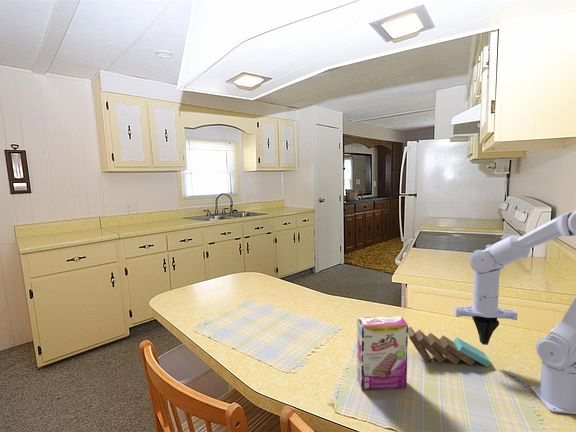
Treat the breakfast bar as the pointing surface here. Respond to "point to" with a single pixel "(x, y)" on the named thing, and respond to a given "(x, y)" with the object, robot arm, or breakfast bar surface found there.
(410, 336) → the walnut domino
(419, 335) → the walnut domino
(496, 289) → the robot arm
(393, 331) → the candy bar box
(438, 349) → the walnut domino
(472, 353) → the teal domino
